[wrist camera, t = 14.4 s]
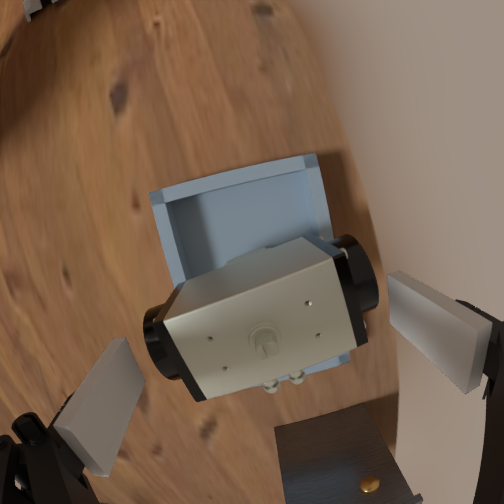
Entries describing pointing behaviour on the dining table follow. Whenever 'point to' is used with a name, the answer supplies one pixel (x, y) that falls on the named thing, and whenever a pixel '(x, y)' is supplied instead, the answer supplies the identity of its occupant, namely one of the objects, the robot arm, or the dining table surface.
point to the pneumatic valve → (264, 316)
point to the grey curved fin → (33, 7)
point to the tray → (242, 218)
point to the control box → (339, 462)
